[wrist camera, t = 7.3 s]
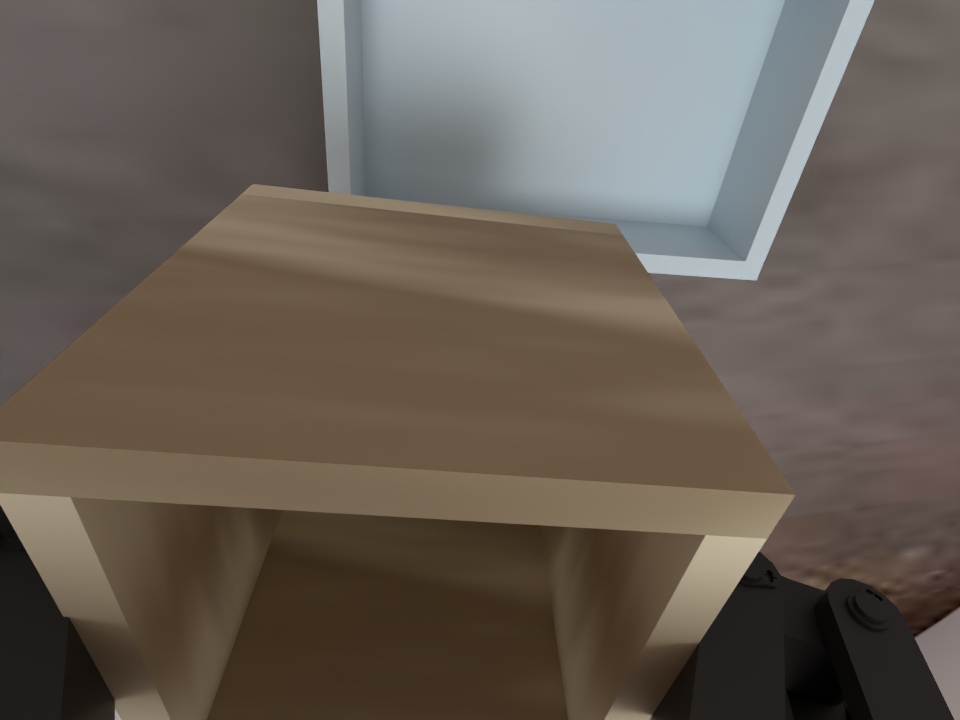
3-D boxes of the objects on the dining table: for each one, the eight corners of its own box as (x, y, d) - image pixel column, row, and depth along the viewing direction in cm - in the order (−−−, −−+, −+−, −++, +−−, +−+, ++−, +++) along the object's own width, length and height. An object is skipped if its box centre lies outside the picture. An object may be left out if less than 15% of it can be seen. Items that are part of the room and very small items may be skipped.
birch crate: (548, 472, 19) (604, 788, 11) (284, 454, 18) (155, 780, 10) (615, 223, 14) (795, 495, 6) (252, 183, 13) (-38, 439, 5)
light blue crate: (710, 238, 33) (756, 280, 28) (350, 209, 31) (332, 249, 26) (809, -42, 26) (896, -52, 21) (338, -104, 23) (309, -132, 18)
